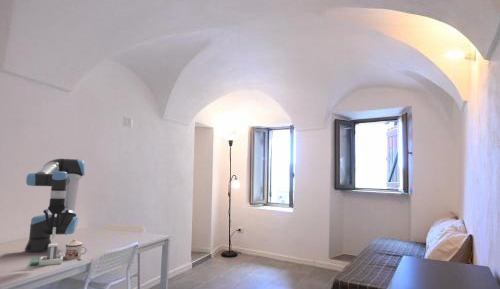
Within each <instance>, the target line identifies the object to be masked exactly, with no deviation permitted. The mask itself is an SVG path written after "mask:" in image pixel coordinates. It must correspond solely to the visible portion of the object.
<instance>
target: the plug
mask: <svg viewBox="0 0 500 289" xmlns="http://www.w3.org/2000/svg"><path fill="white" fill-rule="evenodd" d="M58 245H59V243H51V244H49V245H48V251H46V252H47V254H46V256H47V259H56V257H57V254H58Z"/></svg>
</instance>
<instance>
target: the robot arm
mask: <svg viewBox="0 0 500 289" xmlns="http://www.w3.org/2000/svg"><path fill="white" fill-rule="evenodd" d="M85 174H86V168H85V161H84V160H83V159H78V158H76V159H75V158H74V159H73V158H57V159H56V158H55V159H52V160H49V161H47V162H46V163H44V164H43V167H42V168H41V169H39V170H38V171H37V172H35V173H34V172H32V173H31V172H29V173H28V174H27V175H26V183H25V184H26V185H27V186H29V187H51V189H50V198H49V205H48V207H47V208H46V209H44V210H43V213H44V214H41V215H39V214H38V215H35V216H33V217H31V219H30V224H29V225H30V228H29V237H28V241H27V243H26V245H25V248H24V253H44V252H48V245H49V244H52V241H51V240H56V236H58V235H59V236H60V235H65V236H67V235H73V234H74V233H75V232H76V229H77V226H78V221H79V217H78V216H77V213H76V212H75V209H76V203H77V194H78V190H79V183H80V180H81V179H82V178H83V177H84V176H85ZM49 212H50V213H49Z"/></svg>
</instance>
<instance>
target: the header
mask: <svg viewBox="0 0 500 289" xmlns="http://www.w3.org/2000/svg"><path fill="white" fill-rule="evenodd" d="M39 258H40V260H39V265H49V264H63V261H64V255H63V254H61V255H59V256H57V257H56V259H47V255H46V256H40V257H39Z"/></svg>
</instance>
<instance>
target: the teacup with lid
mask: <svg viewBox="0 0 500 289" xmlns="http://www.w3.org/2000/svg"><path fill="white" fill-rule="evenodd" d="M82 248H84V249H85V250H84V252H82V250H83V249H82ZM87 249H88V248H87V247H86V246H83V242H82V241H78V240H77V239H76V238H74V239H72V240H71V241H69V242H67V243H66V244H65V252H64V258H65V259H68V260H69V259H72V260H73V259H76V260H80V259H81V258H82V255H85V254H86V253H87V251H88V250H87Z"/></svg>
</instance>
